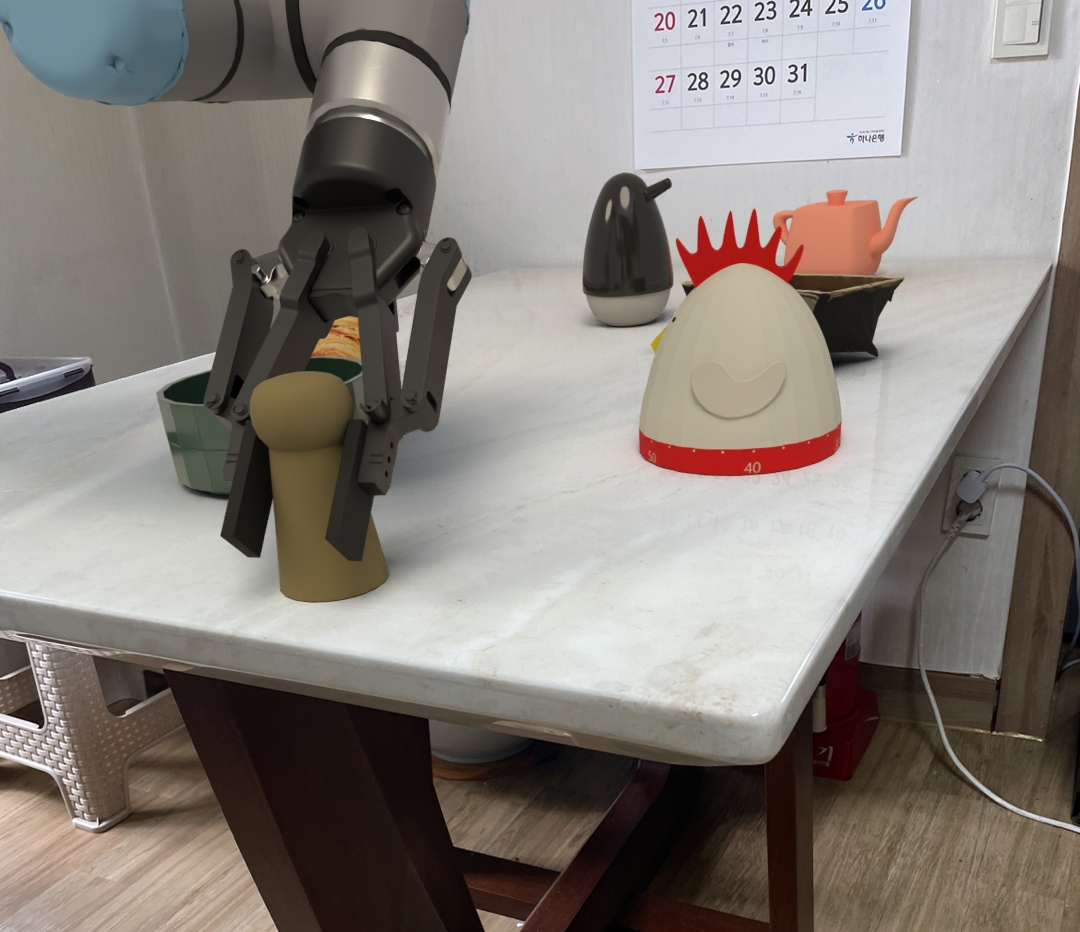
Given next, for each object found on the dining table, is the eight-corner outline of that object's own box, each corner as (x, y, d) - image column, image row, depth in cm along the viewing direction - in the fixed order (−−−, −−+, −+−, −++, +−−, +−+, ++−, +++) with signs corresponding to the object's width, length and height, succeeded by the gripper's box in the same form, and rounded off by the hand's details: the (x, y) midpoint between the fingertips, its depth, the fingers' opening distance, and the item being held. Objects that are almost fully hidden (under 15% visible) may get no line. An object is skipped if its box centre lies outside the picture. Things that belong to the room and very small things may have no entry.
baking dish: (776, 360, 105) (762, 254, 100) (930, 350, 91) (921, 227, 86) (671, 401, 98) (652, 289, 94) (819, 397, 84) (804, 266, 80)
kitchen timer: (647, 422, 81) (642, 208, 73) (831, 415, 78) (844, 193, 71) (632, 478, 69) (623, 229, 61) (847, 472, 66) (866, 212, 59)
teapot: (788, 274, 140) (791, 188, 135) (924, 275, 131) (933, 182, 125) (752, 288, 132) (754, 197, 127) (894, 290, 123) (903, 192, 118)
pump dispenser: (657, 331, 113) (654, 173, 105) (570, 330, 117) (561, 179, 109) (688, 313, 120) (687, 165, 113) (605, 314, 125) (598, 171, 117)
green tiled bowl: (138, 499, 74) (112, 407, 70) (245, 440, 86) (227, 358, 83) (328, 502, 70) (310, 404, 66) (413, 439, 82) (401, 354, 79)
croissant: (372, 439, 96) (401, 355, 93) (264, 398, 93) (291, 310, 90) (370, 385, 114) (395, 313, 111) (280, 349, 111) (302, 275, 108)
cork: (256, 591, 57) (208, 385, 51) (333, 552, 61) (296, 359, 56) (337, 609, 54) (295, 393, 48) (411, 568, 58) (380, 364, 53)
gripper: (544, 200, 59) (482, 583, 54) (261, 219, 64) (179, 571, 59) (507, 92, 52) (431, 520, 47) (192, 123, 57) (93, 513, 52)
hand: (291, 547), depth 53 cm, fingers closed on cork, 5 cm apart
